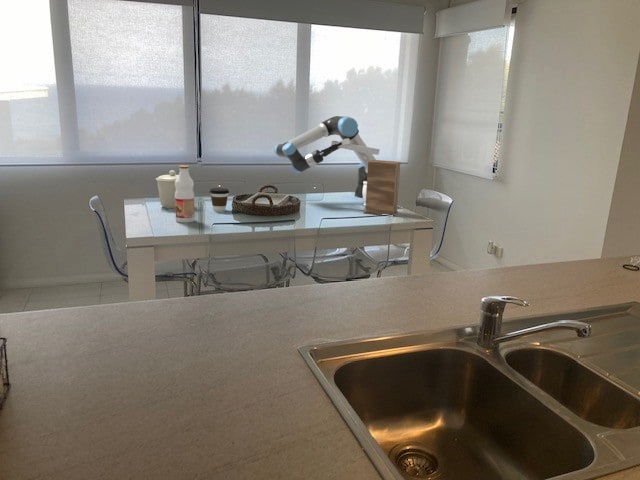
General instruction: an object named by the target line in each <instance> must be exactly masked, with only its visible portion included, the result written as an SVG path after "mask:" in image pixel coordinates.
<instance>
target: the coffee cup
mask: <svg viewBox="0 0 640 480" xmlns="http://www.w3.org/2000/svg"><path fill="white" fill-rule="evenodd" d="M208 193H210V199H211V204H212V209H213V212H218V213H221V212H222V211H223V212H225V211H226V208H227V203H228V199H229V195H228V194H229V193H230V190H229V189H228V188H222V187H215V188H213V187H212V188H210V190H209V191H208Z"/></svg>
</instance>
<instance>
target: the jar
mask: <svg viewBox="0 0 640 480" xmlns="http://www.w3.org/2000/svg"><path fill="white" fill-rule="evenodd" d="M363 183H364V186H363V198H362V200H363V204H362V205H363V206H364V207H366V191H367V181H363Z"/></svg>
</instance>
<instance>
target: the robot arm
mask: <svg viewBox="0 0 640 480" xmlns="http://www.w3.org/2000/svg"><path fill="white" fill-rule="evenodd" d="M358 127H359V124H358V121H356V119H355V118H353V117H350V116H339V115H335V116H332V117H330V118H328V119H326V120H324V121H321V122H320V123H319V124H318V126H316V127H314V128H312V129H311V128H310V130H307V131H306V132H303V133H302V134H300V135H298V136H295V137H294V138H292V139H290V140H288V141H286V142H284V143H279V144H276V145H275V147H274V149H273V150H274V151H273V152H274V154H275V156H276V157H277V156H278V157H280V158H285V159H287V160H289V161H290V162H291V164H290V168H291V170H292V172H293V173H294V174H296V175H298V174H300V173H304V172H305V171H306V170H308V169H310V168H312V167H314V168H315V166H316V165H318V164H319V163H322V162H323V161H324V157H327V156H329V155H331V154H332V153H334V152H335V151H337V150H339V149H340V148H339V147H341V146H343V145H345V144H347V143H349V144H354V145H360V146H365V147H368V146H367V144H366V142H364V140H363V139H362V137H361V136H360V135H359V133H360V130H359V128H358ZM330 136H339V137H340V139H341V141H338V143H336V144H335V145H332V146H331V145H330V146H328V147H326V148H324V149H321V150H319V149H316V150H313V151H312V152H311V153H308V154H306V155H304V156H303V155H302V154H301V153H300V151H299V150H300V149H302V148H304V147H306V146H309V145H310V144H312V143H314V142H316V141H318V140H320V139H322V138H327V137H330ZM352 151H353V153H355V155H356V157H357V158H358V159H359V161H360V163H359V164H358V167H357V169H358V172H357V173H358V174H357V185H356V188H355V190H354V197H356V196H357V198H362V199H363V186H364V183H363V181H367V175H368V161H371V160H377V158H375V156H374V154H369V153H364V152H359V151H354V150H352Z"/></svg>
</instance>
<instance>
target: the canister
mask: <svg viewBox="0 0 640 480" xmlns="http://www.w3.org/2000/svg"><path fill="white" fill-rule="evenodd" d="M178 176H179V174H176V171H175V170H174V169H172V170H169V173H168V174H163V175H160V176H158V177H156V178H155V180H156V183H157V188H158V196H159V201H160V205H161V206H162V207H163V208H165V209H168V208H170V210H174V209H175V192H176V187H175V181H176V179H177V178H178Z"/></svg>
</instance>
